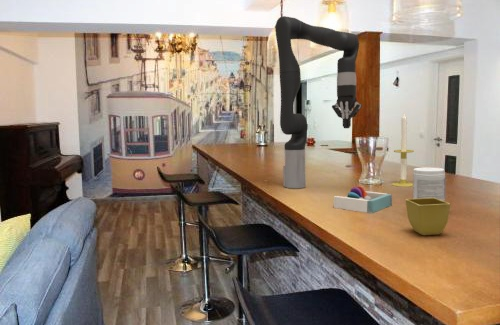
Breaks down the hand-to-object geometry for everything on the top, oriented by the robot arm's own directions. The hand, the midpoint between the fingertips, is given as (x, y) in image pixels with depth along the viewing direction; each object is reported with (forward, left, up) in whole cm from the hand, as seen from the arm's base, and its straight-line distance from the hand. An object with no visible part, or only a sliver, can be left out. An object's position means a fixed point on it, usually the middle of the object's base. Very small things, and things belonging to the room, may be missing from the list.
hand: (346, 128), depth 173 cm
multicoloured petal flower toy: (+14, -17, -27) cm, 35 cm away
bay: (+16, -16, -27) cm, 35 cm away
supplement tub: (+38, -13, -27) cm, 49 cm away
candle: (+9, +33, -27) cm, 44 cm away
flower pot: (+46, -35, -27) cm, 64 cm away
